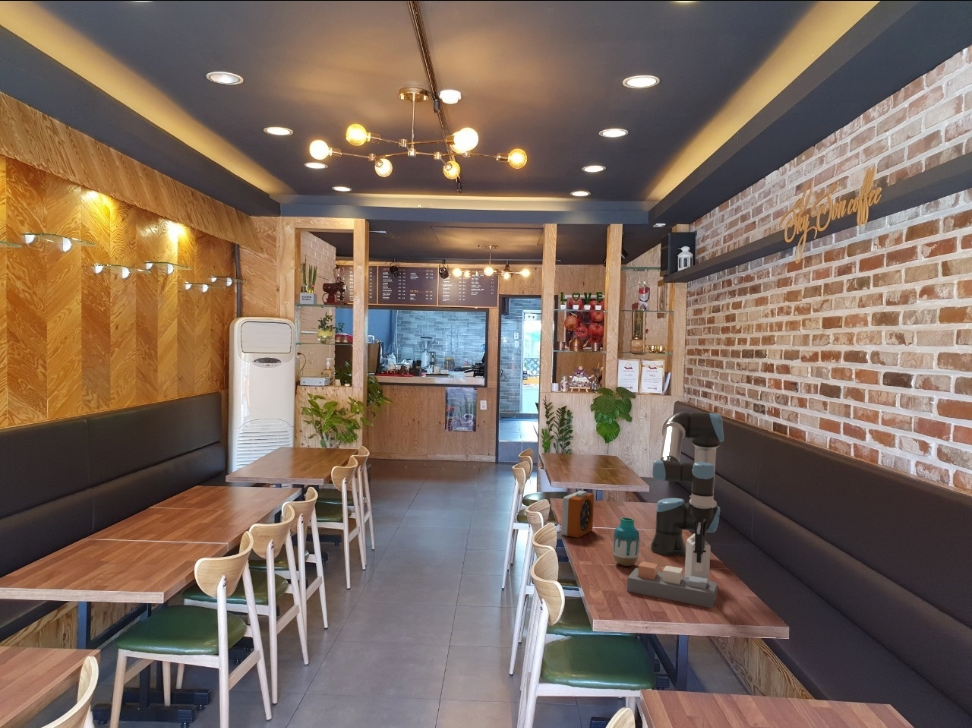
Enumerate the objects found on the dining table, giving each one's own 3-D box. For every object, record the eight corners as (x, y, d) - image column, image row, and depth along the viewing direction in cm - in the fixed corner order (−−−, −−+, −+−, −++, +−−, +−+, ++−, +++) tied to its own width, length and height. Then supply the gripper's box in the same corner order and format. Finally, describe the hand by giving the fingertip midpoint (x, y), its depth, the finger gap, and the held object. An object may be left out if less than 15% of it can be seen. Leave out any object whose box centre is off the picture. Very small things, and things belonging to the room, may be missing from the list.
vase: (610, 566, 269) (612, 520, 268) (614, 559, 279) (616, 514, 278) (636, 570, 265) (638, 523, 265) (639, 563, 275) (641, 517, 275)
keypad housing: (635, 580, 253) (635, 567, 253) (716, 596, 240) (717, 582, 240) (627, 591, 241) (627, 577, 241) (712, 608, 228) (713, 593, 228)
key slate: (690, 591, 241) (690, 575, 241) (707, 594, 238) (708, 578, 238) (687, 596, 235) (688, 580, 235) (705, 600, 233) (705, 583, 233)
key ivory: (665, 581, 245) (666, 565, 245) (682, 584, 242) (682, 568, 242) (662, 585, 239) (663, 570, 239) (679, 589, 237) (680, 573, 237)
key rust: (641, 576, 249) (642, 561, 249) (657, 579, 246) (658, 564, 246) (637, 581, 243) (638, 565, 243) (654, 584, 241) (654, 568, 241)
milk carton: (702, 578, 259) (704, 530, 259) (708, 584, 252) (711, 535, 252) (684, 577, 259) (686, 529, 259) (690, 583, 252) (693, 534, 252)
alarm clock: (577, 539, 307) (579, 495, 307) (560, 535, 312) (562, 492, 311) (593, 530, 323) (594, 489, 322) (576, 527, 328) (578, 486, 327)
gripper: (693, 500, 244) (690, 563, 245) (688, 508, 232) (685, 574, 233) (714, 503, 240) (711, 567, 241) (710, 511, 229) (707, 578, 230)
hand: (698, 570), depth 237 cm, fingers closed
